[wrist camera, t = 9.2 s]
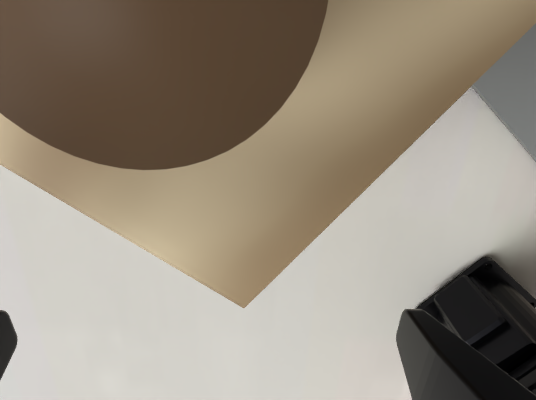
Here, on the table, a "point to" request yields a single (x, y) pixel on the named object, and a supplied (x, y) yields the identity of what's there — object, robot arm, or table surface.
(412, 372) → the robot arm
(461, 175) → the table surface
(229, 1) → the lid
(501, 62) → the mat
